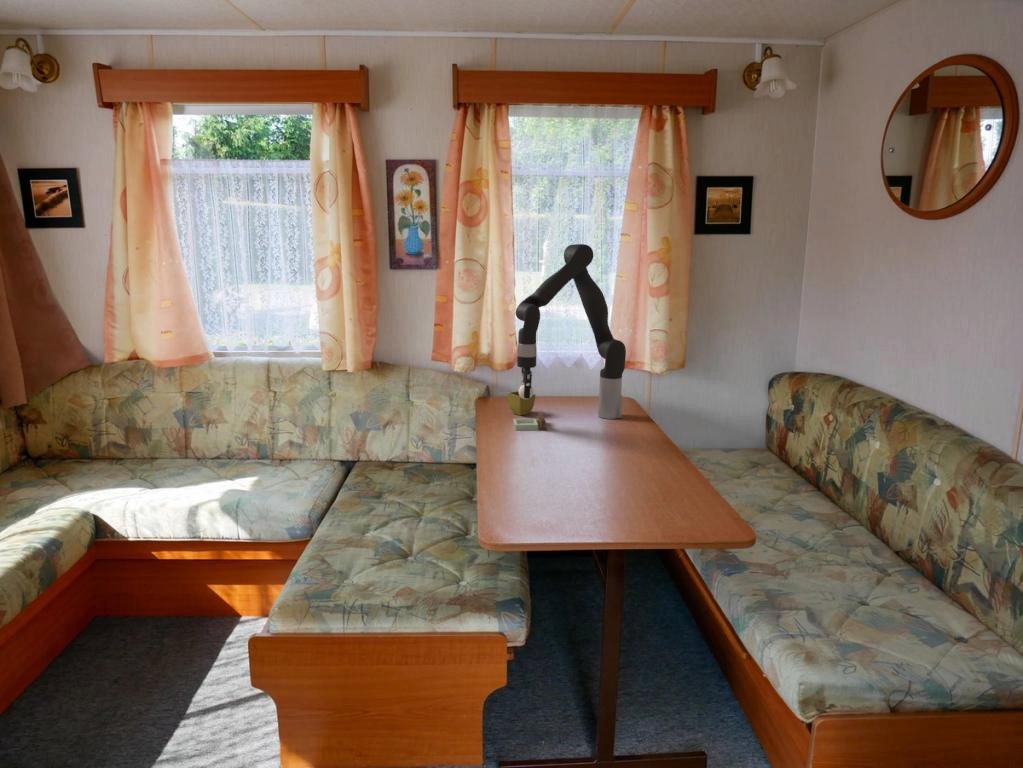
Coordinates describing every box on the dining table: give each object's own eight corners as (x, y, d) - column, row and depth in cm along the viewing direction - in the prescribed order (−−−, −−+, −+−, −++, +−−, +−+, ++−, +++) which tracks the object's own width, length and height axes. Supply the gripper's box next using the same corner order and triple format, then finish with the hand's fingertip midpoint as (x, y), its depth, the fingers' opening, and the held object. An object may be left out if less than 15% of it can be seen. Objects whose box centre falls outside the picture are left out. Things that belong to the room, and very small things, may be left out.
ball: (532, 397, 273) (532, 382, 272) (534, 400, 267) (534, 386, 266) (517, 397, 273) (517, 382, 271) (519, 400, 267) (519, 386, 265)
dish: (535, 423, 277) (535, 418, 277) (538, 429, 268) (538, 424, 268) (513, 423, 276) (513, 418, 276) (515, 430, 268) (515, 425, 267)
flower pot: (522, 410, 298) (522, 390, 296) (535, 414, 291) (536, 393, 289) (506, 413, 292) (507, 392, 290) (520, 417, 286) (520, 396, 284)
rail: (542, 422, 279) (543, 412, 279) (547, 430, 268) (547, 420, 267) (535, 422, 279) (535, 412, 278) (539, 430, 268) (539, 420, 267)
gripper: (538, 358, 259) (537, 400, 263) (534, 351, 273) (533, 392, 277) (519, 358, 259) (518, 400, 262) (515, 351, 273) (514, 392, 276)
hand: (525, 396), depth 270 cm, fingers closed on ball, 6 cm apart
